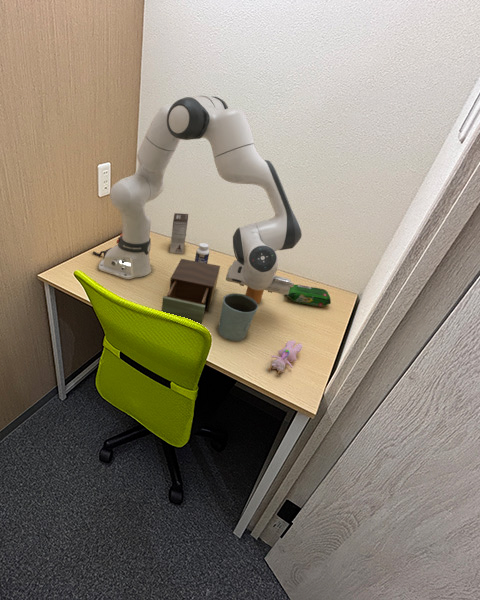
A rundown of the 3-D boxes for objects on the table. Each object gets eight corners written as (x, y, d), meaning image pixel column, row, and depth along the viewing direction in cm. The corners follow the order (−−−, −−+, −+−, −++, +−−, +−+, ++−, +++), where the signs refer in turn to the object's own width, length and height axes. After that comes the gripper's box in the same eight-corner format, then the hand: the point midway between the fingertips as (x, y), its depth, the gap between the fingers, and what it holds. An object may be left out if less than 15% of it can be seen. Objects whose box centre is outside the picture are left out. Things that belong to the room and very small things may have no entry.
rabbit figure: (282, 382, 93) (307, 351, 100) (287, 369, 89) (312, 337, 96) (261, 370, 97) (286, 340, 104) (265, 357, 93) (290, 327, 100)
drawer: (198, 337, 105) (202, 314, 100) (157, 326, 110) (159, 304, 105) (208, 305, 120) (212, 284, 115) (171, 297, 124) (174, 276, 119)
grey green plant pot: (214, 321, 113) (220, 292, 106) (245, 323, 112) (253, 294, 106) (219, 341, 105) (226, 310, 98) (252, 344, 104) (262, 313, 97)
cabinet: (208, 312, 118) (213, 286, 112) (167, 302, 123) (170, 277, 116) (215, 289, 130) (220, 265, 124) (178, 282, 134) (181, 258, 128)
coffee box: (170, 244, 163) (174, 212, 154) (184, 245, 162) (188, 213, 153) (169, 252, 156) (173, 219, 147) (183, 254, 155) (188, 220, 146)
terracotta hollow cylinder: (243, 302, 123) (247, 286, 119) (244, 294, 127) (249, 278, 123) (259, 306, 121) (264, 289, 117) (260, 298, 125) (265, 282, 121)
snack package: (281, 292, 128) (285, 280, 125) (327, 299, 124) (332, 288, 121) (282, 302, 123) (286, 290, 120) (330, 310, 119) (336, 298, 116)
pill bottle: (196, 268, 143) (199, 248, 137) (192, 262, 147) (195, 242, 142) (208, 268, 144) (212, 247, 138) (204, 262, 148) (207, 241, 142)
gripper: (297, 273, 102) (290, 285, 114) (229, 258, 110) (229, 271, 122) (292, 293, 101) (285, 303, 114) (223, 276, 109) (224, 288, 122)
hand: (256, 286), depth 118 cm, fingers open, 8 cm apart
